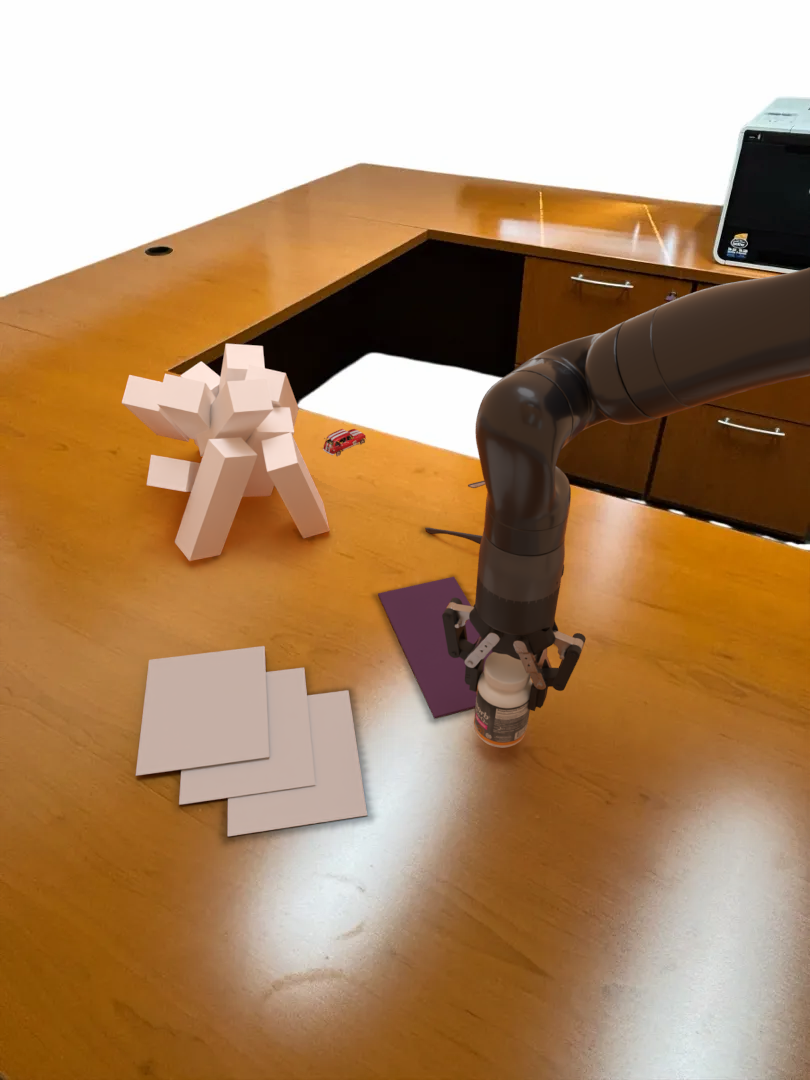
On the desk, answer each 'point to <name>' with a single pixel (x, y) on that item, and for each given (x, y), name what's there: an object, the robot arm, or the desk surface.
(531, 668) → the robot arm
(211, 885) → the desk surface
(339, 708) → the paper stack
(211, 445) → the pile of blocks
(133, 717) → the desk surface
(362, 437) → the toy car
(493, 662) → the pill bottle
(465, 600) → the cloth
